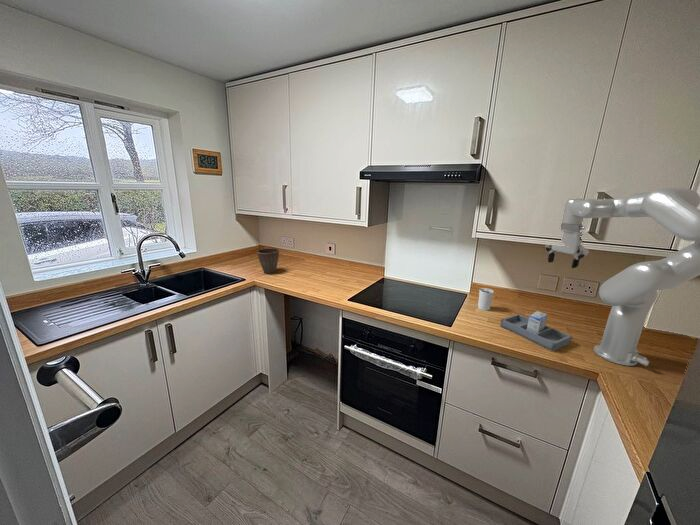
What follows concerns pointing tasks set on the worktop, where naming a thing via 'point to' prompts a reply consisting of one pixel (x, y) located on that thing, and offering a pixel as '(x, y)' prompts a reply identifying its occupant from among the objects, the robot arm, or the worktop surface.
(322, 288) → the worktop surface
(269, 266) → the plant pot
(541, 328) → the medicine box
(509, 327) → the organizer tray
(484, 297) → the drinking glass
